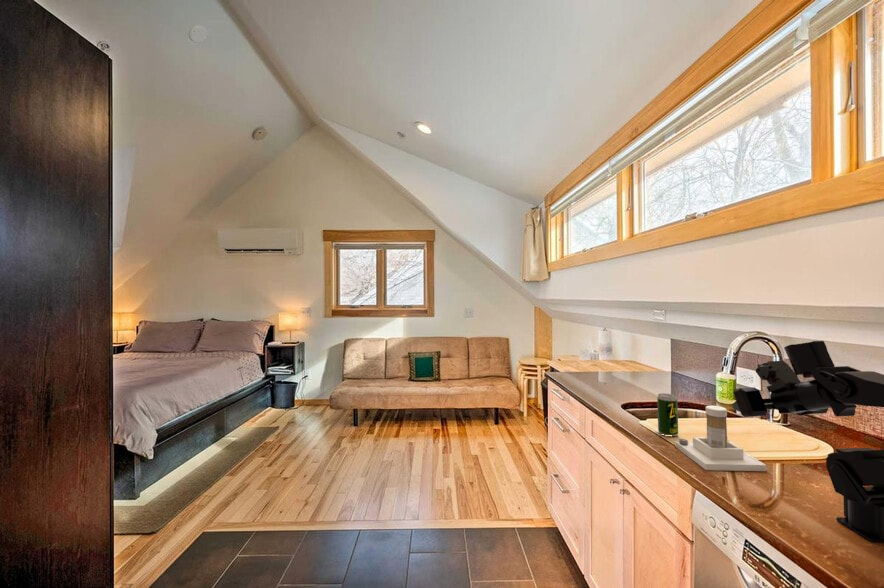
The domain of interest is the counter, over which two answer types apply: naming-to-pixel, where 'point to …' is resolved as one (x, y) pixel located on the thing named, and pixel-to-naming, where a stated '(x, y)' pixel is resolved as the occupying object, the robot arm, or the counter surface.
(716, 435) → the sprinkles bottle
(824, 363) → the robot arm
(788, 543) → the counter surface
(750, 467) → the housing
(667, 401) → the beer can
